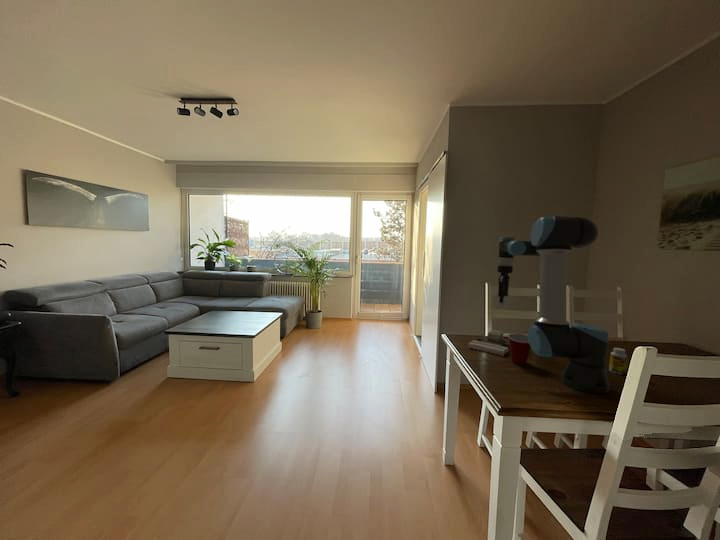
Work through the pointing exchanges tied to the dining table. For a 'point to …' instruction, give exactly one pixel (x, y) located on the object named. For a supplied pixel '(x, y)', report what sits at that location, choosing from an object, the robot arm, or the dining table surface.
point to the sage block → (495, 336)
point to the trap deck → (490, 345)
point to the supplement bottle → (618, 361)
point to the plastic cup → (519, 348)
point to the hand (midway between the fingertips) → (502, 307)
